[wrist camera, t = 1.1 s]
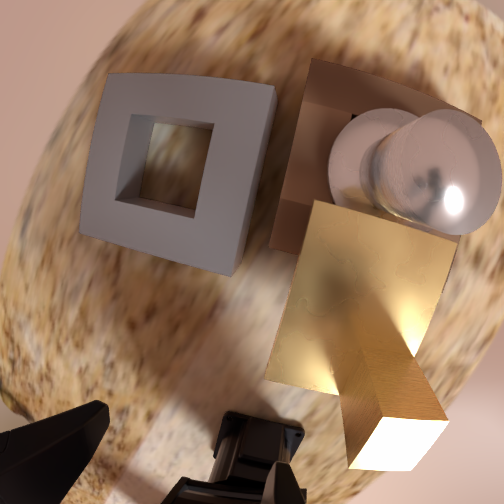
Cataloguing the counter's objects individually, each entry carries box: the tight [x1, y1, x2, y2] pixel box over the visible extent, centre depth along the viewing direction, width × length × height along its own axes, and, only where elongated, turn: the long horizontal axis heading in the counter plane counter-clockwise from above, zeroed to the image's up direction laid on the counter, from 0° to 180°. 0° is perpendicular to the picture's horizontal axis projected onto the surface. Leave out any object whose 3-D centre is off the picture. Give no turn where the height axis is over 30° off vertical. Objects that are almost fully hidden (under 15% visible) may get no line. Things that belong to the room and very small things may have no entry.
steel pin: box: [327, 108, 502, 235], centre depth 12 cm, size 6×6×10 cm
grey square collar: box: [79, 73, 278, 277], centre depth 17 cm, size 10×10×3 cm
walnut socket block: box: [268, 58, 482, 293], centre depth 15 cm, size 10×10×3 cm
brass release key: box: [264, 199, 457, 470], centre depth 11 cm, size 9×7×6 cm
